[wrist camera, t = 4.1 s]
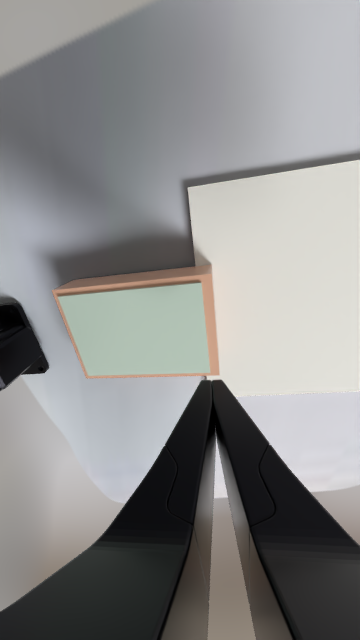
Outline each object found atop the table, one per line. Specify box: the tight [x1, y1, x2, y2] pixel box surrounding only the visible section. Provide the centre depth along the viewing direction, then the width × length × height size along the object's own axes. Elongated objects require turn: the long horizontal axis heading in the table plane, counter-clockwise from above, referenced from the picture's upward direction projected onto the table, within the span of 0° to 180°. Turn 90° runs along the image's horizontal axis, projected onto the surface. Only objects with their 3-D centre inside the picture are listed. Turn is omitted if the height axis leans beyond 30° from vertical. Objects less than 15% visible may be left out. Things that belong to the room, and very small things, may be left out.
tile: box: [52, 264, 220, 378], centre depth 15 cm, size 3×7×10 cm
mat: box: [188, 160, 360, 397], centre depth 15 cm, size 16×16×1 cm
